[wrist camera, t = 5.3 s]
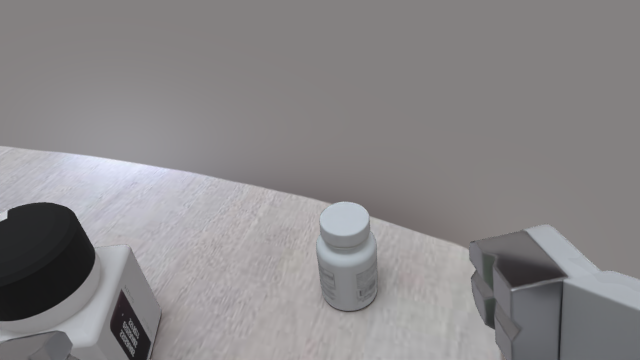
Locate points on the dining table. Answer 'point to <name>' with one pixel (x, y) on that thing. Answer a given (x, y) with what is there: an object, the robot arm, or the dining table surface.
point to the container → (72, 286)
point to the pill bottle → (347, 256)
